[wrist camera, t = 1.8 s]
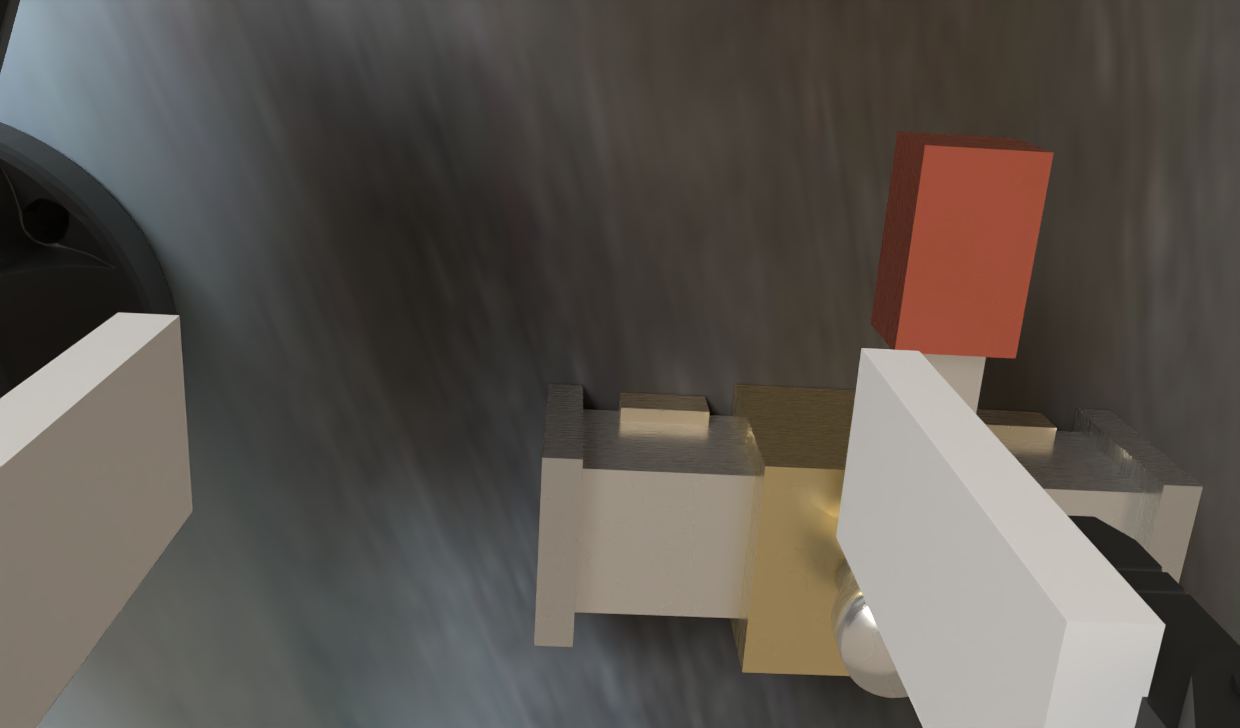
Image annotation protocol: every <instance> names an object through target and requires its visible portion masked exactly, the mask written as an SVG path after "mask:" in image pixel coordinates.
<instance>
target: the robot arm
mask: <svg viewBox="0 0 1240 728" xmlns="http://www.w3.org/2000/svg"><path fill="white" fill-rule="evenodd" d="M19 2H20V0H0V72H1V69H2V65H3V61H4V58H5V54H6V50H7V47H8V43H9V39H10V35H11V32H12V28H13V24H14V21H15V17H16V13H17V10H18V6H19ZM192 511H193V506H192V491H191V476H190V461H189V447H188V432H187V417H186V403H185V388H184V373H183V358H182V344H181V329H180V315H177V314H176V310H175V307H174V303H173V299H172V296H171V293H170V290H169V287H168V284H167V281H166V279H165V277H164V274H163V272H162V270H161V267H160V265H159V263H158V261H157V259H156V258H155V256H154V254H153V252H152V250H151V248H150V247H149V245H148V243H147V242H146V240H145V238H144V237H143V235H142V234H141V232H140V231H139V229H138V228H137V226H136V225H135V224H134V222H133V221H132V219H131V218H130V217H129V216H128V214H127V213H126V212H125V211H124V210H123V208H122V207H121V206H120V205H119V204H118V203H117V201H116V200H115V199H114V198H113V197H112V196H111V195H110V194H109V193H108V192H107V191H106V190H105V189H104V188H103V187H102V186H101V185H100V184H99V183H98V182H97V181H96V180H95V179H94V178H92V177H91V176H90V175H89V174H88V173H86V172H85V171H84V170H83V169H82V168H80V167H79V166H78V165H76V164H75V163H74V162H72V161H71V160H70V159H68V158H67V157H65V156H64V155H63V154H61V153H59V152H58V151H56V150H55V149H53V148H52V147H50V146H48V145H47V144H45V143H43V142H41V141H39V140H38V139H36V138H34V137H32V136H30V135H28V134H26V133H24V132H22V131H20V130H17V129H15V128H13V127H11V126H8V125H5V124H3V123H0V728H36V727H37V725H38V724H39V723H40V721H41V720H42V718H43V717H44V716H45V714H46V713H47V712H48V710H49V709H50V707H51V706H52V705H53V703H54V702H55V701H56V699H57V698H58V696H59V695H60V694H61V692H62V691H63V689H64V688H65V687H66V685H67V684H68V683H69V681H70V680H71V678H72V677H73V676H74V674H75V673H76V672H77V670H78V669H79V667H80V666H81V665H82V663H83V662H84V661H85V659H86V658H87V656H88V655H89V654H90V652H91V651H92V649H93V648H94V647H95V645H96V644H97V643H98V641H99V640H100V638H101V637H102V636H103V634H104V633H105V632H106V630H107V629H108V627H109V626H110V625H111V623H112V622H113V620H114V619H115V618H116V616H117V615H118V614H119V612H120V611H121V609H122V608H123V607H124V605H125V604H126V603H127V601H128V600H129V598H130V597H131V596H132V594H133V593H134V592H135V590H136V589H137V587H138V586H139V585H140V583H141V582H142V580H143V579H144V578H145V576H146V575H147V574H148V572H149V571H150V569H151V568H152V567H153V565H154V564H155V563H156V561H157V560H158V558H159V557H160V556H161V554H162V553H163V552H164V550H165V549H166V547H167V546H168V545H169V543H170V542H171V540H172V539H173V538H174V536H175V535H176V534H177V532H178V531H179V529H180V528H181V527H182V525H183V524H184V523H185V521H186V520H187V518H188V517H189V516H190V514H191V513H192ZM836 537H837V540H838V542H839V544H840V546H841V548H842V551H843V553H844V555H845V557H846V559H847V562H848V564H849V566H850V568H851V570H852V573H853V575H854V577H855V579H856V581H857V584H858V586H859V588H860V590H861V592H862V595H863V597H864V599H865V601H866V603H867V606H868V608H869V610H870V612H871V614H872V617H873V619H874V621H875V623H876V625H877V628H878V630H879V632H880V634H881V637H882V639H883V641H884V643H885V645H886V648H887V650H888V652H889V654H890V656H891V659H892V661H893V663H894V665H895V667H896V670H897V672H898V674H899V676H900V678H901V681H902V683H903V685H904V687H905V689H906V692H907V694H908V696H909V698H910V700H911V703H912V705H913V707H914V709H915V711H916V714H917V716H918V718H919V720H920V722H921V725H922V727H923V728H1240V646H1239V645H1238V644H1237V643H1236V642H1235V641H1234V640H1233V639H1232V638H1231V636H1230V635H1229V634H1228V633H1227V632H1226V631H1225V630H1224V629H1223V628H1222V627H1221V626H1220V625H1219V624H1218V623H1217V622H1216V621H1215V620H1214V619H1213V618H1212V617H1211V616H1210V615H1209V614H1208V613H1207V612H1206V611H1205V610H1204V609H1203V608H1202V607H1201V606H1200V605H1199V604H1198V603H1197V602H1196V601H1195V600H1194V599H1193V598H1192V597H1191V596H1190V595H1186V594H1184V589H1183V588H1182V587H1181V586H1180V585H1179V584H1178V582H1177V581H1176V580H1175V579H1174V578H1173V577H1172V576H1171V575H1170V574H1169V573H1168V572H1162V566H1161V565H1160V564H1159V563H1158V562H1157V561H1156V560H1155V559H1154V558H1153V557H1152V556H1151V555H1150V554H1149V553H1148V552H1147V551H1146V550H1145V549H1144V548H1143V547H1142V546H1141V545H1140V544H1139V543H1138V542H1137V541H1136V540H1135V539H1133V538H1131V537H1130V536H1128V535H1126V534H1124V533H1123V532H1121V531H1119V530H1117V529H1116V528H1114V527H1112V526H1110V525H1109V524H1107V523H1105V522H1103V521H1102V520H1100V519H1098V518H1096V517H1095V516H1070V515H1066V514H1065V513H1064V511H1063V510H1062V509H1061V508H1060V507H1059V506H1058V505H1057V504H1056V503H1055V501H1054V500H1053V499H1052V498H1051V497H1050V496H1049V495H1048V494H1047V493H1046V491H1045V490H1044V489H1043V488H1042V487H1041V486H1040V485H1039V484H1038V483H1037V481H1036V480H1035V479H1034V478H1033V477H1032V476H1031V475H1030V474H1029V473H1028V471H1027V470H1026V469H1025V468H1024V467H1023V466H1022V465H1021V464H1020V463H1019V461H1018V460H1017V459H1016V458H1015V457H1014V456H1013V455H1012V454H1011V453H1010V451H1009V450H1008V449H1007V448H1006V447H1005V446H1004V445H1003V444H1002V443H1001V441H1000V440H999V439H998V438H997V437H996V436H995V435H994V434H993V432H992V431H991V430H990V429H989V428H988V427H987V426H986V425H985V424H984V422H983V421H982V420H981V419H980V418H979V417H978V416H977V415H976V414H975V412H974V411H973V410H972V409H971V408H970V407H969V406H968V405H967V404H966V402H965V401H964V400H963V399H962V398H961V397H960V396H959V395H958V394H957V392H956V391H955V390H954V389H953V388H952V387H951V386H950V385H949V384H948V382H947V381H946V380H945V379H944V378H943V377H942V376H941V375H940V374H939V372H938V371H937V370H936V369H935V368H934V367H933V366H932V365H931V364H930V362H929V361H928V360H927V359H926V358H925V357H924V356H923V355H922V353H921V352H920V351H910V350H889V349H869V348H862V350H861V357H860V364H859V372H858V379H857V386H856V394H855V401H854V408H853V416H852V423H851V430H850V438H849V445H848V453H847V460H846V467H845V475H844V482H843V489H842V497H841V504H840V511H839V519H838V526H837V533H836Z"/></svg>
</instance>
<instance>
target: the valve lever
mask: <svg viewBox="0 0 1240 728" xmlns="http://www.w3.org/2000/svg"><path fill="white" fill-rule="evenodd" d="M1052 158H1053V152H1050V151H1048V150H1045V149H1042V148H1040V147H1037V146H1035V145H1032V144H1029V143H1027V142H1024V141H1021V140H1019V139H1016V138H999V137H983V136H966V135H949V134H932V133H915V132H897V139H896V146H895V153H894V161H893V168H892V175H891V182H890V189H889V196H888V204H887V211H886V218H885V225H884V232H883V240H882V247H881V254H880V261H879V268H878V275H877V283H876V290H875V297H874V304H873V311H872V319H871V325H872V326H873V327H874V328H875V329H876V331H877V332H878V333H879V334H880V335H881V337H882V338H883V339H884V340H885V341H886V343H887V344H888V345H889V346H890V348H891V349H892V350H910V351H920V352H921V353H922V355H923V356H924V357H925V358H926V359H927V360H928V361H929V362H930V364H931V365H932V366H933V367H934V368H935V369H936V370H937V371H938V372H939V374H940V375H941V376H942V377H943V378H944V379H945V380H946V381H947V382H948V384H949V385H950V386H951V387H952V388H953V389H954V390H955V391H956V392H957V394H958V395H959V396H960V397H961V398H962V399H963V400H964V401H965V402H966V404H967V405H968V406H969V407H970V408H971V409H972V410H973V411H974V412H975V414H976V411H977V405H978V400H979V394H980V388H981V383H982V377H983V371H984V365H985V360H986V357H997V358H1016V354H1017V348H1018V343H1019V338H1020V332H1021V327H1022V321H1023V316H1024V310H1025V305H1026V300H1027V294H1028V289H1029V283H1030V278H1031V272H1032V267H1033V262H1034V256H1035V251H1036V245H1037V240H1038V234H1039V229H1040V224H1041V218H1042V213H1043V207H1044V202H1045V196H1046V191H1047V186H1048V180H1049V175H1050V169H1051V164H1052ZM830 622H831V629H832V633H833V636H834V638H835V641H836V644H837V646H838V649H839V652H840V654H841V657H842V659H843V662H844V665H845V667H846V670H847V672H848V673H849V675H850V677H851V678H852V679H853V680H854V682H855V683H857V684H858V685H859V686H860V687H861V688H863V689H864V690H866V691H868V692H870V693H872V694H875V695H878V696H883V697H889V698H902V697H909V696H908V694H907V692H906V689H905V687H904V685H903V683H902V681H901V678H900V676H899V674H898V672H897V670H896V667H895V665H894V663H893V661H892V659H891V656H890V654H889V652H888V650H887V648H886V645H885V643H884V641H883V639H882V637H881V634H880V632H879V630H878V628H877V625H876V623H875V621H874V619H873V617H872V614H871V612H870V610H869V608H868V606H867V603H866V601H865V599H864V597H863V595H862V592H861V590H860V588H859V586H858V584H857V581H856V579H855V578H854V579H852V580H851V581H850V582H849V583H847V584H846V585H845V587H844V588H843V589H842V590H841V591H840V593H839V594H838V596H837V598H836V599H835V601H834V604H833V607H832V611H831V619H830Z"/></svg>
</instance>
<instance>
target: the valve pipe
mask: <svg viewBox="0 0 1240 728" xmlns="http://www.w3.org/2000/svg"><path fill="white" fill-rule="evenodd" d="M855 394H856V390H843V389H822V388H801V387H780V386H759V385H739V384H735V387H734V397H733V407H732V416H720V415H709V414H710V411H709V408H708V404H707V401H706V398H705V396H687V395H666V394H645V393H623V392H620V397H619V411H612V410H590V409H583V385H568V384H548V395H547V407H546V419H545V431H544V443H543V455H542V476H541V499H540V522H539V546H538V569H537V592H536V615H535V638H534V646H558V647H573V630H574V612H582V613H609V614H636V615H663V616H689V617H716V618H730V621H731V626H732V630H733V634H734V639H735V643H736V648H737V652H738V656H739V661H740V665H741V669H742V672H749V673H778V674H806V675H835V676H850V675H849V673H848V672H847V670H846V667H845V665H844V662H843V659H842V657H841V654H840V652H839V649H838V646H837V644H836V641H835V638H834V636H833V633H832V629H831V622H830V619H831V611H832V607H833V604H834V601H835V599H836V598H837V596H838V594H839V593H840V591H841V590H842V589H843V588H844V587H845V585H846V584H847V583H849V582H850V581H851V580H852V579H854V578H855V577H854V575H853V573H852V570H851V568H850V566H849V564H848V562H847V559H846V557H845V555H844V553H843V551H842V548H841V546H840V544H839V542H838V540H837V537H836V533H837V526H838V519H839V511H840V504H841V497H842V489H843V482H844V475H845V467H846V460H847V453H848V445H849V438H850V430H851V423H852V416H853V408H854V401H855ZM976 415H977V416H978V417H979V418H980V419H981V420H982V421H983V422H984V424H985V425H986V426H987V427H988V428H989V429H990V430H991V431H992V432H993V434H994V435H995V436H996V437H997V438H998V439H999V440H1000V441H1001V443H1002V444H1003V445H1004V446H1005V447H1006V448H1007V449H1008V450H1009V451H1010V453H1011V454H1012V455H1013V456H1014V457H1015V458H1016V459H1017V460H1018V461H1019V463H1020V464H1021V465H1022V466H1023V467H1024V468H1025V469H1026V470H1027V471H1028V473H1029V474H1030V475H1031V476H1032V477H1033V478H1034V479H1035V480H1036V481H1037V483H1038V484H1039V485H1040V486H1041V487H1042V488H1043V489H1044V490H1045V491H1046V493H1047V494H1048V495H1049V496H1050V497H1051V498H1052V499H1053V500H1054V501H1055V503H1056V504H1057V505H1058V506H1059V507H1060V508H1061V509H1062V510H1063V511H1064V513H1065V514H1066V515H1070V516H1095V517H1096V518H1098V519H1100V520H1102V521H1103V522H1105V523H1107V524H1109V525H1110V526H1112V527H1114V528H1116V529H1117V530H1119V531H1121V532H1123V533H1124V534H1126V535H1128V536H1130V537H1131V538H1133V539H1135V540H1136V541H1137V542H1138V543H1139V544H1140V545H1141V546H1142V547H1143V548H1144V549H1145V550H1146V551H1147V552H1148V553H1149V554H1150V555H1151V556H1152V557H1153V558H1154V559H1155V560H1156V561H1157V562H1158V563H1159V564H1160V565H1161V566H1162V572H1168V573H1169V574H1170V575H1171V576H1172V577H1173V578H1174V579H1175V580H1176V581H1177V582H1178V584H1179V580H1180V576H1181V572H1182V568H1183V564H1184V560H1185V556H1186V552H1187V548H1188V544H1189V540H1190V536H1191V532H1192V528H1193V524H1194V520H1195V516H1196V512H1197V508H1198V504H1199V500H1200V496H1201V492H1202V488H1203V487H1202V486H1201V485H1200V484H1199V483H1198V482H1196V481H1195V480H1194V479H1193V478H1191V477H1190V476H1189V475H1188V474H1187V473H1185V472H1184V471H1183V470H1182V469H1181V468H1179V467H1178V466H1177V465H1176V464H1174V463H1173V462H1172V461H1171V460H1170V459H1168V458H1167V457H1166V456H1165V455H1164V454H1162V453H1161V452H1160V451H1159V450H1158V449H1156V448H1155V447H1154V446H1153V445H1151V444H1150V443H1149V442H1148V441H1147V440H1145V439H1144V438H1143V437H1142V436H1141V435H1139V434H1138V433H1137V432H1136V431H1134V430H1133V429H1132V428H1131V427H1130V426H1128V425H1127V424H1126V423H1125V422H1124V421H1122V420H1121V419H1120V418H1119V417H1117V416H1116V415H1115V414H1114V413H1113V412H1111V411H1110V410H1096V409H1077V410H1076V415H1075V420H1074V425H1073V430H1072V432H1065V431H1056V430H1057V428H1056V427H1055V426H1054V425H1053V424H1052V423H1051V422H1050V421H1049V420H1048V419H1047V418H1046V417H1045V416H1044V415H1043V414H1042V413H1040V412H1027V411H1005V410H984V409H977V411H976Z"/></svg>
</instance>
